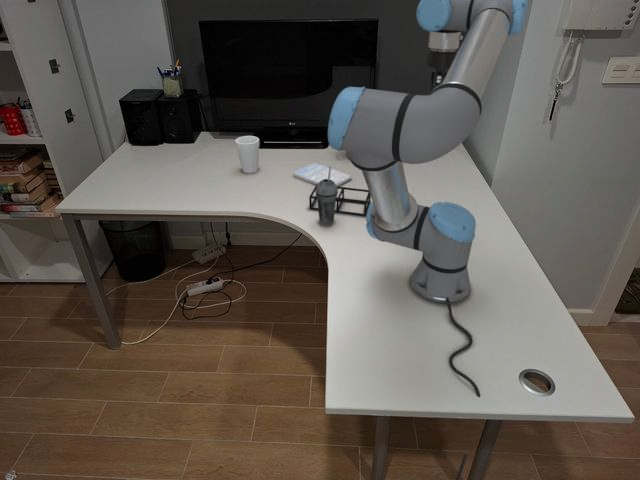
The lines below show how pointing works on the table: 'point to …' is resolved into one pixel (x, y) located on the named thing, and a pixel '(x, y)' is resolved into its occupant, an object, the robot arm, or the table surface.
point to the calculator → (321, 174)
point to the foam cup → (248, 153)
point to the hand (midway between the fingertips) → (431, 131)
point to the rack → (344, 201)
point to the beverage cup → (326, 200)
